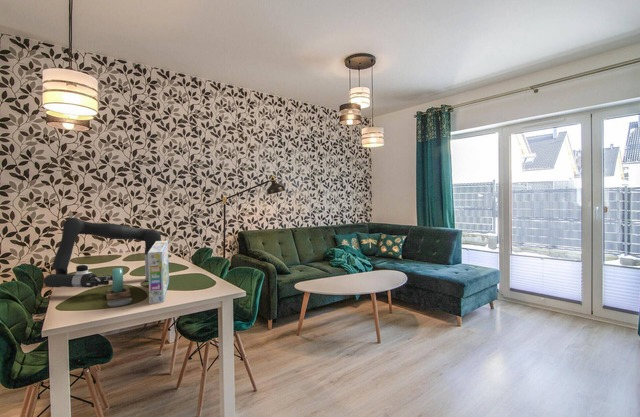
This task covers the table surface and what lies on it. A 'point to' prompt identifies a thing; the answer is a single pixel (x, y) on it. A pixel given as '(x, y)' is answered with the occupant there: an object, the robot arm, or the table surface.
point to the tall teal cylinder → (117, 280)
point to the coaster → (119, 302)
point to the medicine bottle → (82, 269)
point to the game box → (158, 272)
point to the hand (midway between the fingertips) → (113, 280)
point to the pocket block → (118, 294)
